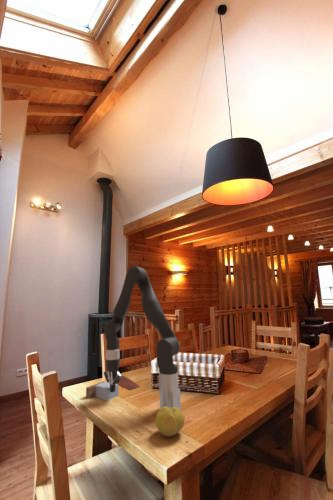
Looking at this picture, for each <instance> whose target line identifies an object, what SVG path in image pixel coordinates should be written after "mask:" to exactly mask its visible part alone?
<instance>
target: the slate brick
mask: <svg viewBox="0 0 333 500" xmlns="http://www.w3.org/2000/svg"><path fill="white" fill-rule="evenodd" d="M102 382H103V381H102ZM99 383H100V382H99ZM96 384H97V385H95V384H94V385H95V397H96V398H99V399H101V400H104V401H109V400H112V399H113V398H116V397H118V396H119V385H118V384H116V385H115V392H110V384H109V382H108V383H107V380H106V381H104V382H103V383H100V384H98V383H96Z"/></svg>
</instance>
